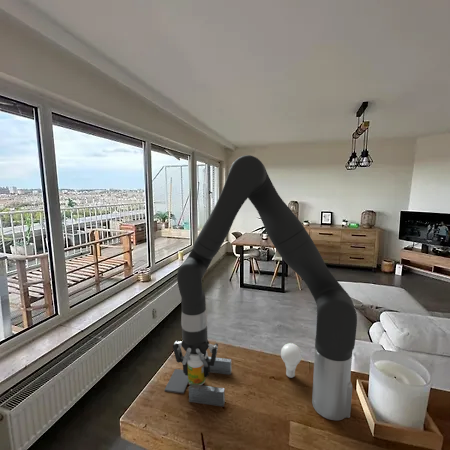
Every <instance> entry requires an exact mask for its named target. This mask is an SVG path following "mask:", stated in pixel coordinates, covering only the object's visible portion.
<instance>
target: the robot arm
mask: <svg viewBox="0 0 450 450" xmlns="http://www.w3.org/2000/svg"><path fill="white" fill-rule="evenodd" d="M247 199H248V200H249V201H250V203H251V204H252V205H253V206H254V208H255V210H256V212H257V213H258V215H259V217H260V220H261V222H262V224H263V227H264V229H265V232H266V233H267V236H268V237H269V239H270V242H271V243H272V245H273V247H274V248H275V249H276V251H277V253H278V254H279V256H280V257H281V258H282V260H283V261H284V262H285V263H286V264H287V265H288V267H289V268H290V269H291V270H292V271H294V272H295V273H296V274H297V275H298V277H300V278H301V279H302V280H303V282H304V284H306V286H307V288H308V290H309V291H310V293H311V295H312V298H313V299H314V302H315V305H316V327H315V328H316V331H315V339H314V358H313V359H314V360H313V361H314V362H313V379H312V396H311V398H312V399H311V403H312V407H313V408H314V410H315V412H316V413H317V414H319V415H320V416H321V417H323V418H325V419H327V420H331V421H341V420H343V419H347V418H350V417H351V411H352V395H353V384H352V381H351V375H352V361H353V360H352V359H353V351H354V349H355V345H356V339H357V338H356V337H357V335H356V334H357V326H358V325H357V324H358V314H357V311H356V307H355V305H354V302H353V300H352V297H351V295H350V294H348V292H347V291H346V290H345V289H344V287H343V286H342V285H341V284H340V282H339V281H338V280H337V279H336V277H335V276H334V275H333V274H332V272H331V271H330V270H329V268H328V266H327V265H326V263H325V261H324V258H323V257H322V255H321V253H320V251H319V249H318V247H317V246H316V244H315V243H314V241H313V239H312V237H311V236H310V235H309V232H308V231H307V229H306V228H305V227H304V225H303V223H302V222H301V220H299V218H298V217H297V215H296V214H295V213H294V212H293V210H292V209H291V207H289V206H288V205H287V203H285V202H284V200H283V198H282V197H281V196H280V194H279V193H278V191H277V190H276V188H275V186H274V184H273V182H272V180H271V178H270V176H269V174H268V171H267V169H266V167H265V165H264V164H263V162H262V161H261V160H260V159H259V158H258V157H256V156H255V155H254V156H253V155H250V154H246V155H241V156H238V158H236V159H235V160H234V161H233V162H232V164H231V165H230V168H229V172H228V174H227V177H226V180H225V183H224V184H223V187H222V190H221V192H220V195H219V197H218V199H217V202H216V203H215V206H214V207H213V209H212V211H211V213H210V214H209V216H208V218H207V219H206V221H205V223H204V225H203V227H202V228H201V230H200V232H199V233H198V235H197V237H196V238H195V241H194V243H193V247H192V248H191V251H190V253H189V254H188V255H187V257H186V258H185V260H184V261H183V262H182V263H181V264H180V265H179V267H178V269H177V273H176V278H177V279H176V281H177V287H178V290H179V294H180V297H181V300H180V301H181V303H180V304H181V315H180V316H181V319H180V320H181V321H180V325H181V336H182V339H181V340H182V341H180V340H178V339H177V340H175V342H174V343H173V345H172V351H173V354H174V357H175V361H176V363H178V364H179V363H181V364H182V370H183V372H184V373H185V375H187V376H188V366H187V361H188V358H189V355H190V354H198V355H199V358H200V360H201V361H202V362H203V364H204V377H205V379H207V377H209V375H210V373H211V372H210V365H211V366H214V363H215V360H216V358H217V353H218V348H219V344H218V343H214V344H212V343H210V342H209V340H208V339H209V338H208V317H207V316H208V315H207V310H206V309H207V308H206V295H205V292H204V290H203V286H202V285H203V282H202V280H203V278H204V276H205V274H206V272H207V270H208V269H209V266H210V264H211V262H212V260H213V259H214V257H216V255H217V253H218V252H219V250H220V249H221V247H222V245H223V243H224V242H225V240H226V238H227V237H228V235H229V233H230V230H231V228H232V226H233V223H234V221H235V220H236V217H237V215H238V213H239V211H240V209H241V208H242V206H243V205H244V203H245V202H246V201H247ZM182 348H183V350H184V351H185V353H184V354H185V355H184V356H183V352H182ZM208 349H209V352H210V354H211V356H209V353H208V351H207V350H208ZM209 357H211V359H209Z"/></svg>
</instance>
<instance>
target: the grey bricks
mask: <svg viewBox="0 0 450 450" xmlns="http://www.w3.org/2000/svg"><path fill="white" fill-rule="evenodd" d="M208 357H209V359H211V356H208ZM210 373H211V374H222V375H229V376H230V375H232V358H224V357H223V358H222V357H216V360H215V363H214V366H211V365H210ZM225 400H226V399H225V388H224V387H218V386H217V387H216V386H208V385H203V384H202V385H195V384H189V386H188V402H189V403H195V404H196V403H197V404H202V405H208V406H209V405H211V406H217V407H225V403H226V402H225Z"/></svg>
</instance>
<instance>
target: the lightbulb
mask: <svg viewBox="0 0 450 450" xmlns="http://www.w3.org/2000/svg"><path fill="white" fill-rule="evenodd" d="M280 357H281V359H282V361H283V363H284V365H285V368H286V370H285V375H286V376H287V377H288V378H294V377H295V376H296V368H297V366H298V364H300V362H301V360H302V357H303V355H302V351H301V348H300V347H299V346H298V345H296V343H292V342H289V343H286V344H284V345H283V346H282V347H281V349H280Z"/></svg>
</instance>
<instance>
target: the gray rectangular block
mask: <svg viewBox="0 0 450 450" xmlns="http://www.w3.org/2000/svg"><path fill="white" fill-rule="evenodd" d="M188 384H189V382H188V376H187V375H185V373H184V372H183V369H178V368H175V369H174V370H173V372H172V374H171V376H170V378H169V380H168V381H167V384H166V386H165V387H164V392H169V393H175V394H181V395H182V394H183V395H184V394H185V392H186V389H187V386H188Z"/></svg>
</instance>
